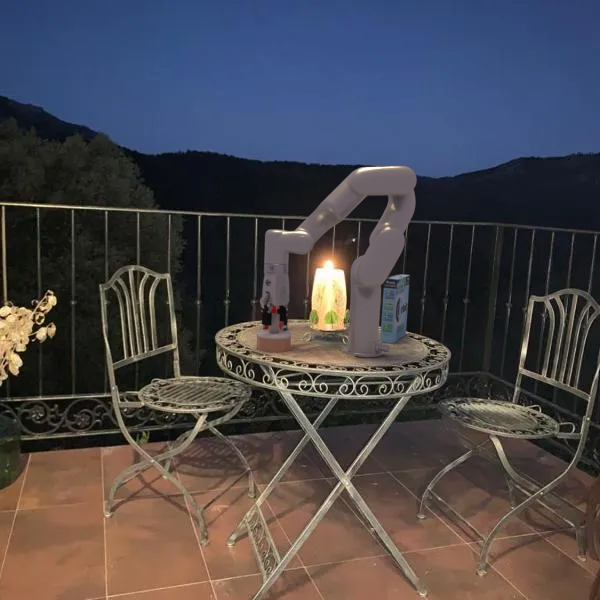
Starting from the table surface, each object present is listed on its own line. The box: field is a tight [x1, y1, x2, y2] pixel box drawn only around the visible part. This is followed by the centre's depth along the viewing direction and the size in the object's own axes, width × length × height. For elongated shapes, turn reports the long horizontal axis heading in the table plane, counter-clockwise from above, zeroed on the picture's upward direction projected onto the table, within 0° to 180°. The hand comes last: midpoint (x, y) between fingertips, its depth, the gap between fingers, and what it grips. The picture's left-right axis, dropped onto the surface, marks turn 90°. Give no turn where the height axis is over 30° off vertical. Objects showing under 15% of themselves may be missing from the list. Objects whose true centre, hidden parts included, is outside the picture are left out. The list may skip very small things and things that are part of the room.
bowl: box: [256, 335, 292, 353], centre depth 201 cm, size 10×10×5 cm
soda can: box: [262, 305, 284, 330], centre depth 218 cm, size 7×7×13 cm
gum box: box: [379, 273, 411, 344], centre depth 229 cm, size 20×5×23 cm, turn 157°
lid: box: [256, 313, 292, 339], centre depth 200 cm, size 11×11×7 cm
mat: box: [290, 341, 322, 351], centre depth 208 cm, size 10×10×1 cm
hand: (274, 323), depth 200 cm, fingers open, 9 cm apart
